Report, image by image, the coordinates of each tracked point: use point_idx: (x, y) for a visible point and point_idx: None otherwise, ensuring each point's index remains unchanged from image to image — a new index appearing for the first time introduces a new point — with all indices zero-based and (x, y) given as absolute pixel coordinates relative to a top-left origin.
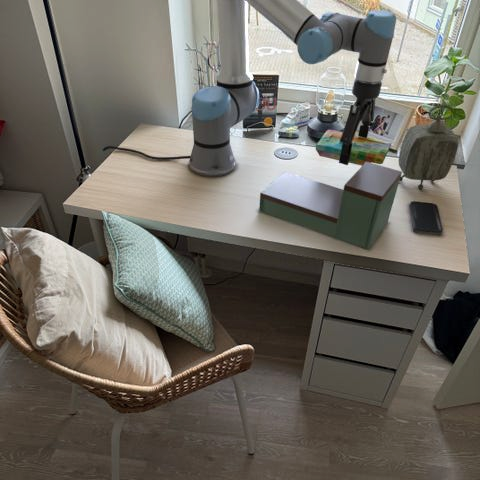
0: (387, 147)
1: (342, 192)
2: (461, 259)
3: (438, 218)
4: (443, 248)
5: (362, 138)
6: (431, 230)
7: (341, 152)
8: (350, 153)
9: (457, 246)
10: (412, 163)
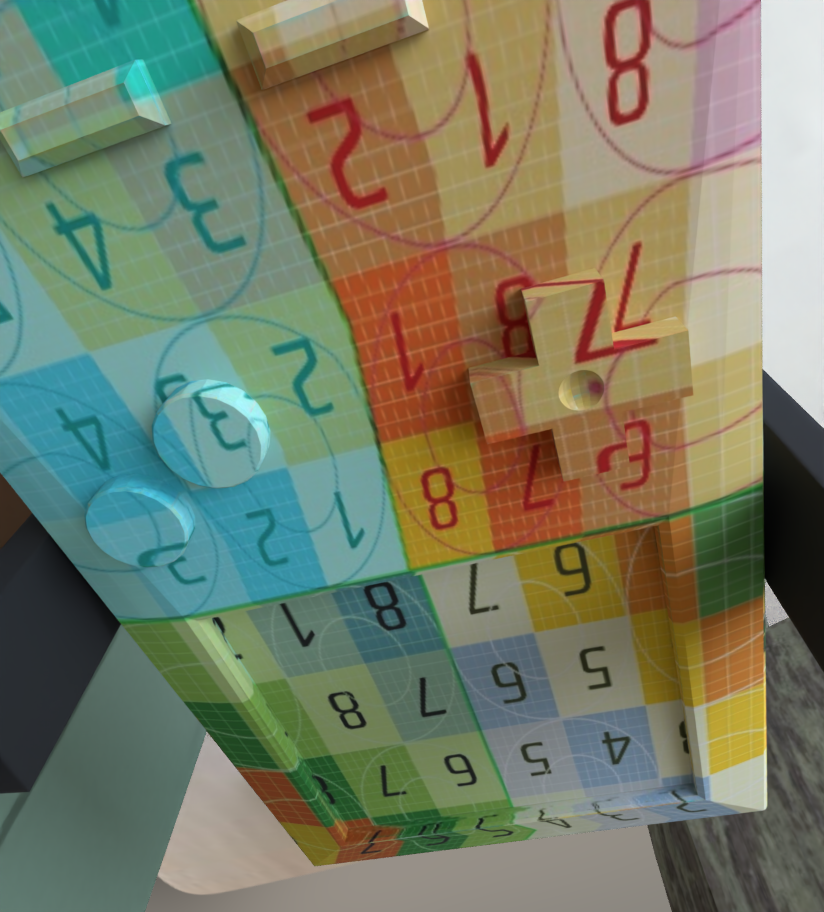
0: (612, 824)
1: (1, 536)
2: (247, 885)
3: None
4: (257, 844)
5: (666, 582)
6: None
7: (25, 536)
8: (110, 636)
9: (311, 865)
10: (653, 833)
